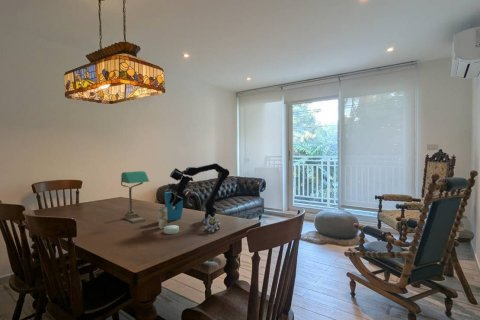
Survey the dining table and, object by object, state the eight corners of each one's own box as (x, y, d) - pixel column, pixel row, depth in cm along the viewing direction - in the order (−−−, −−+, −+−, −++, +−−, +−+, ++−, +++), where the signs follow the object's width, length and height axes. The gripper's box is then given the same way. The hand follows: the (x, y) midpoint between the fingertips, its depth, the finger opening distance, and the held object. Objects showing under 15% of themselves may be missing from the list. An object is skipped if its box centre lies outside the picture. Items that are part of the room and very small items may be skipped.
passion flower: (213, 240, 165) (204, 228, 159) (203, 233, 173) (195, 221, 167) (226, 228, 169) (218, 215, 163) (216, 221, 178) (209, 209, 171)
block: (167, 221, 191) (166, 193, 190) (165, 219, 195) (164, 192, 194) (183, 218, 197) (182, 191, 196) (180, 217, 201) (180, 190, 200)
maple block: (165, 226, 179) (165, 206, 178) (167, 227, 175) (167, 207, 174) (158, 227, 177) (158, 207, 176) (160, 228, 173) (159, 208, 172)
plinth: (181, 230, 170) (181, 225, 170) (174, 234, 161) (174, 229, 161) (168, 229, 172) (168, 224, 172) (161, 233, 163) (160, 228, 163)
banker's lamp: (139, 215, 210) (138, 170, 208) (151, 220, 194) (150, 171, 193) (118, 218, 199) (117, 171, 197) (129, 224, 184) (127, 173, 182)
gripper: (169, 177, 187) (157, 197, 184) (176, 179, 170) (163, 201, 167) (183, 184, 191) (171, 204, 188) (190, 187, 175) (178, 209, 171)
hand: (171, 204), depth 179 cm, fingers open, 9 cm apart
